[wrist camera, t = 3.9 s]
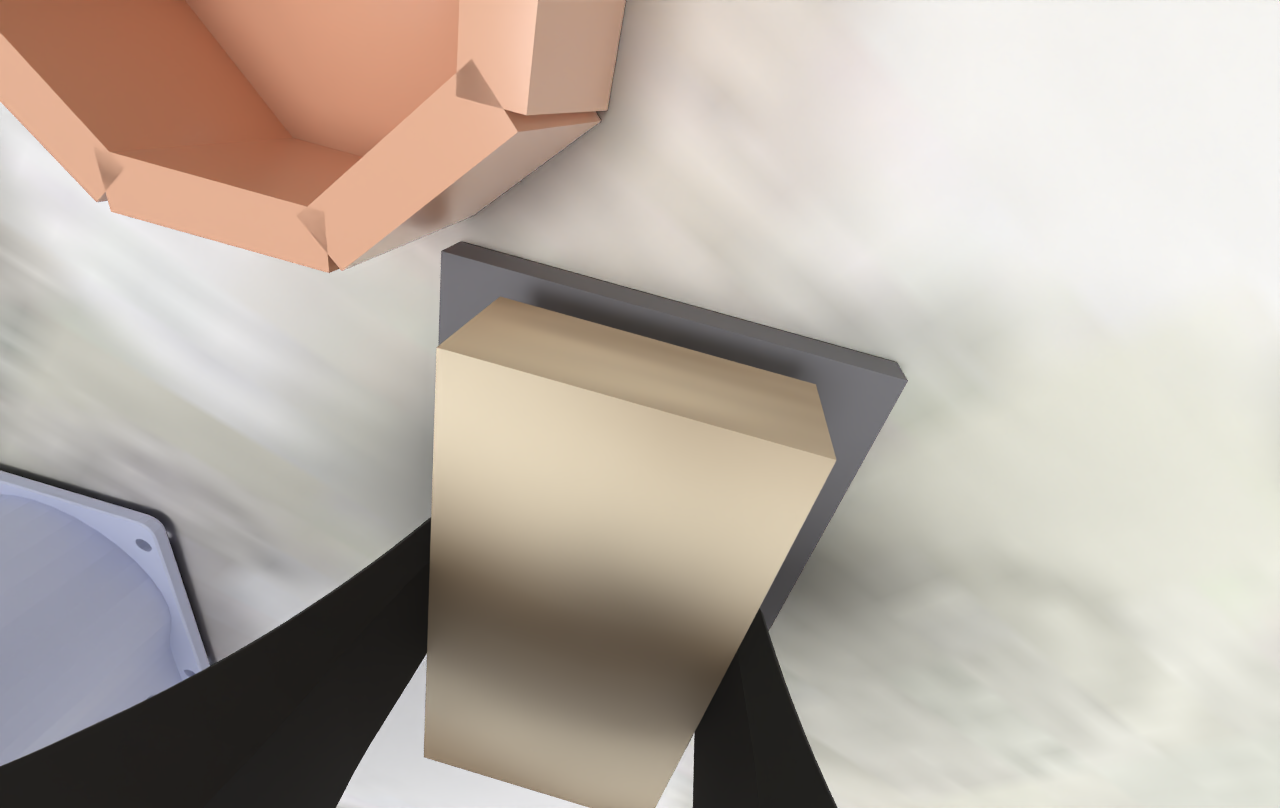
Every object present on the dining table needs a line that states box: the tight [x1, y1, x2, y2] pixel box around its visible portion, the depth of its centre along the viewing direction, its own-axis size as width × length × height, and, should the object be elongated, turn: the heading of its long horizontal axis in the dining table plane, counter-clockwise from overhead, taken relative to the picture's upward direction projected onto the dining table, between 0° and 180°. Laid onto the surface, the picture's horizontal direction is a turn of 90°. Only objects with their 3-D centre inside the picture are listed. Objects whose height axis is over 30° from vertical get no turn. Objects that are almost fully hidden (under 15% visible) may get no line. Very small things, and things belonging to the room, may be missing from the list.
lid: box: [424, 297, 836, 808], centre depth 11 cm, size 11×6×2 cm, turn 167°
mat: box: [439, 242, 908, 631], centre depth 13 cm, size 11×9×1 cm
